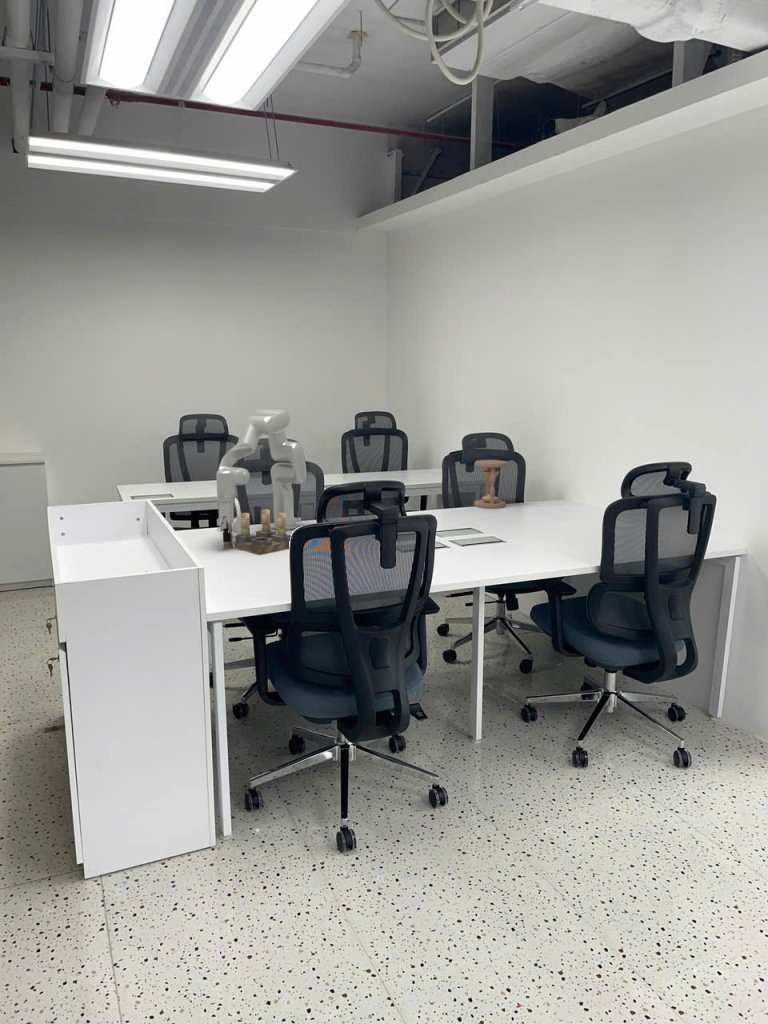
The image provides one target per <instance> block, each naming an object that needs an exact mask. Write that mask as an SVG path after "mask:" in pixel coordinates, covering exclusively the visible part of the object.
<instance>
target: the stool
mask: <svg viewBox="0 0 768 1024" xmlns="http://www.w3.org/2000/svg"><path fill="white" fill-rule="evenodd" d="M260 511H261V529H260V530H256V531H255V534H253V533H251V532H250V531H251V530H250V529H251V528H250V524H251V522H250V513H249V512H241V534H240V535H236V534H235V535H234V536H235V537H234V538H235V540H234V542H233V543H234V549H237V550H241V551H245V552H248V553H252V554H255V555H259V556H261V555H266V554H270V553H275V552H280V551H284V550H287V549H290V548H289V541H290V537H291V535H292V534H288V533H287V530H286V513H277V530H274V529H271V515H270V513H271V510H270V509H261V510H260Z"/></svg>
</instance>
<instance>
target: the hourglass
mask: <svg viewBox="0 0 768 1024" xmlns="http://www.w3.org/2000/svg"><path fill="white" fill-rule="evenodd" d="M474 465H475V467H479V468H486V469H484V470H482V474H483V476H484V477H485V479H486V485H485V496H482V497H481V499H477V500H474V501H473V502H474V507H476V508H479V509H489V510H490V509H493V510H494V509H502V508H503V509H504V508H505V507H506V501H504V500H500V499H499V497H497V496H495V495H496V489H495V483H496V479H497V476H498V475H499V474H500V470H496V468H498V469H499V468H505V467H507V466H508V462H507V460H506V461H505V460H499V459H480V460H476V461H475V463H474Z"/></svg>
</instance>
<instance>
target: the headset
mask: <svg viewBox="0 0 768 1024" xmlns="http://www.w3.org/2000/svg"><path fill="white" fill-rule="evenodd" d="M234 504H235V508H236V517H234V521H233V523H232V533H234V534H235V535H240V534H241V513H242V511H241V508H240V507H241V506H240V502H239V500H238V499H237V498H236V497H235V503H234ZM219 529H223V524H222V525H221V526H219V528H217V529H216V531H217V530H219ZM219 531H220V530H219Z"/></svg>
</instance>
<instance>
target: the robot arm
mask: <svg viewBox="0 0 768 1024" xmlns="http://www.w3.org/2000/svg"><path fill="white" fill-rule="evenodd" d="M290 423H291V416H290V412H288V411H287V410H285V409H272V408H268V409H267V408H266V409H263V408H262V409H261V408H260V409H257V410H256V411H254V414H253V415H251V416H248V417H246V419H245V421H244V424H243V426H242V430H241V433H240V435H239V438H238V440H237V443H236V445H234V446H233V447H232V448H230V449H229V450H228V451H227V452H226V453H224V455H223V457H222V458H221V461H220V463H219V465H218V469H217V472H216V473H215V474H216V477H215V479H216V481H215V482H216V500H217V504H218V526H219V527H220V526H221V525H222V524H223V530H222V542H223V543H224V542H231V533H230V525H231V524H232V523H233V521H234V519H235V517H234V516H235V515H234V514H235V513H234V504H235V498H236V490H235V489H236V488H235V486H243V485H244V486H245V485H246V484H248V483H249V480H250V479H251V474H250V472H249V470H248V469H246V468H244V467H234V466H233V465H235V464H236V463H237V461H239V460H240V459H244V458H245V457H248V456H250V455H252V454H254V453H255V452H256V451H257V448H258V445H259V441H260V439H261V437H262V436H267V437H268V438H267V439H268V444H269V450H270V457H271V459H273V460H274V461H277V463H274V464H273V465H272V466H271V468H270V477H271V481H272V482H271V483H272V492H273V497H272V498H273V524H270V529H271V530H275V531H278V530H277V513H286V531H289V530H293V529H297V528H298V524H297V522H302V517H295V516H294V515H295V514H294V513H295V512H294V511H295V510H294V490H293V488H292V485H291V484H294V485H295V484H296V485H299V484H303V483H305V482H306V479H307V466H306V458H305V452H304V448H303V446H302V444H301V443H299V442H297V441H288V438H287V433H286V429H287V428H288V427H289V425H290ZM227 524H228V526H226V525H227ZM227 527H228V528H227ZM233 536H234V535H232V540H233Z"/></svg>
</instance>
